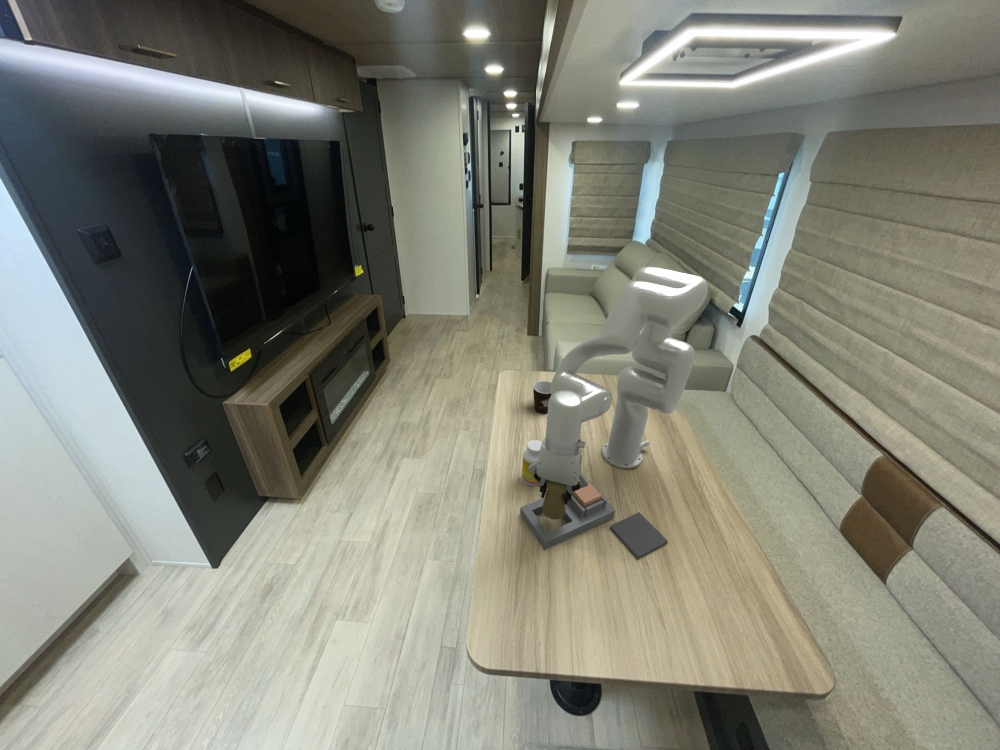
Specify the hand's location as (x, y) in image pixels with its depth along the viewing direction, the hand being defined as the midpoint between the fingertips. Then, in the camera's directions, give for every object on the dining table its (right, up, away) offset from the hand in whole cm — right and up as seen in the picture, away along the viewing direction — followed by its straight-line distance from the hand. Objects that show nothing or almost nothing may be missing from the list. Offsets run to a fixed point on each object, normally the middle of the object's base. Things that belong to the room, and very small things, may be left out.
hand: (555, 496), depth 99 cm
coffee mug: (+4, +17, +49) cm, 52 cm away
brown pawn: (0, -4, +3) cm, 5 cm away
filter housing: (+4, -7, +7) cm, 11 cm away
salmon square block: (+9, -3, +7) cm, 12 cm away
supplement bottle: (-4, -1, +19) cm, 19 cm away
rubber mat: (+22, -11, +2) cm, 24 cm away
